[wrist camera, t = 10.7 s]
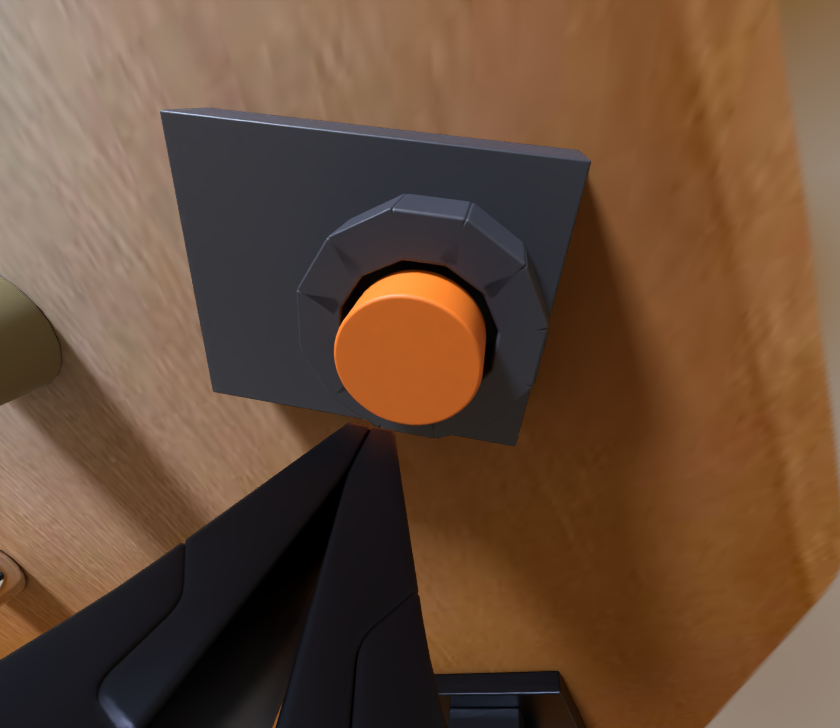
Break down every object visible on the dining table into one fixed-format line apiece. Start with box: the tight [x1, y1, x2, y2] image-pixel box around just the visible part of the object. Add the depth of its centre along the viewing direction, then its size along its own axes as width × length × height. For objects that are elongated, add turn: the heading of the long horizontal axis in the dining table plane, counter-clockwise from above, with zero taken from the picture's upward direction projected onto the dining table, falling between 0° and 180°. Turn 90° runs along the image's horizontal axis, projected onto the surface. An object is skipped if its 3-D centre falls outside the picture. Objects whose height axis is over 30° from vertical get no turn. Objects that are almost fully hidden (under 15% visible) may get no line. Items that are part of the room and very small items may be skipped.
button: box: [334, 269, 486, 425], centre depth 11 cm, size 4×4×2 cm
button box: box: [160, 108, 591, 446], centre depth 14 cm, size 11×9×4 cm
